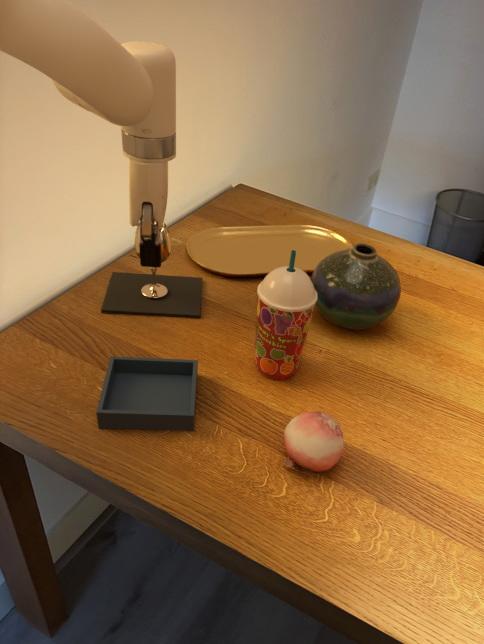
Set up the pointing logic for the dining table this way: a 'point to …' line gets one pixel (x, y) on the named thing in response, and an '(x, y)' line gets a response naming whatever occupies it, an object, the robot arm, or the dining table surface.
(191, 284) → the mat
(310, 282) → the smoothie
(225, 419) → the dining table surface
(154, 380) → the tray
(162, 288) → the wineglass
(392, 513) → the dining table surface
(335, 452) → the onion
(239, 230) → the serving platter
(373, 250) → the vase
